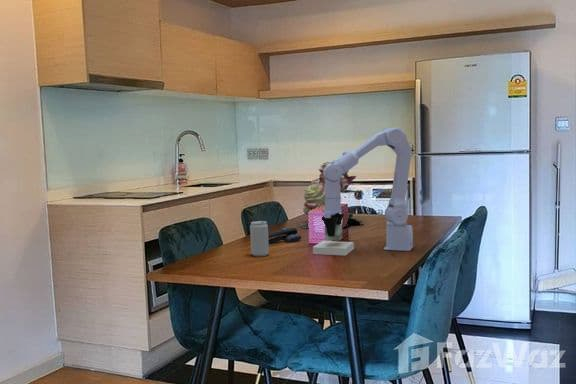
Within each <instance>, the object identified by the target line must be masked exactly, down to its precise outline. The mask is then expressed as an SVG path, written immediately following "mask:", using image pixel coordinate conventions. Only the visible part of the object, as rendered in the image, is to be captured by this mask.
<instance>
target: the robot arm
mask: <svg viewBox="0 0 576 384" xmlns="http://www.w3.org/2000/svg"><path fill="white" fill-rule="evenodd" d="M379 146H380V147H382V146H387V147H389V148H390V149H391V150H392V151H393V152H394V153H395V154H396V159H395V166H394V172H393V182H392V188H391V196H390V198H389V200H388V204H387V207H386V208H385V210H384V217H385V219H386V220H387V221H386V223H385V224H386V225H385V226H386V227H385V228H386V229H385V233H386V235H385V237H386V242H385V243H386V244H385V246H384V247H383V250H384V251H405V252H409V251H411V250H412V249H413V247H414V241H413V240H414V239H413V238H414V235H413V234H414V233H413V232H414V230H413V229H414V228H413V225H410V224H407V222H408V218H409V214H408V210H407V207H408V204H407V200H406V198H407V197H406V196H407V189H408V182H409V181H408V180H409V173H410V166H411V159H412V151H413V150H412V149H411V146H410V143H409V141H408V138H407V134H406V133H405V132H404V131H403V130H402V129H401V128H399V127H386V128H384V129H383V130H382V131H379V132H377V133H376V134H375V135H373V136H372V137H370V138H369V139H368V140H366V141H365V142H364V143H362V144H361V145H360V146H359V147H357V148H356V149H355V150H354V151H352V150H347V151H343V152H342V155H341V156H339V157H338V158H337V159H335V160H334V159H333V160H332V161H331V162H332V163H333V164H330V165H327V166H326V167H325V168H324V171H323V176H324V177H325V209H323V210H322V212H325V215H324V216H323V217H322V218H321V221H322V220H323V221H324V224H325V226H326V229H327V234H328V236H330V237H334V235H335V228H336V225H340V224H341V220H342V218H343V216H344V213H342V210H341V209H342V202H341V200H342V197H341V196H342V195H341V194H342V193H341V190H340V178H341V176H342V174H344V173H346V172H347V171H350V170H352V169H353V168H354V167H355V166H357V165H358V164H359V160H360V158H362V157H364V156H366V154H368V153H370V152H371V151H373V150H374V149H375V148H377V147H379Z"/></svg>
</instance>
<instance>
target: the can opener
mask: <svg viewBox="0 0 576 384" xmlns="http://www.w3.org/2000/svg"><path fill="white" fill-rule="evenodd" d="M301 240H302V236H301V235H300V234H298V229H297V228H296V227H289V228H284V227H283V228H282V229H280V230H275V231H273V232H270V233H269V232H268V242H269V245H272V244H275V243H278V242H281V241H285V242H288V243H290V242H291V243H296V242H298V241H301Z"/></svg>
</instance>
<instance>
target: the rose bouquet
mask: <svg viewBox="0 0 576 384" xmlns="http://www.w3.org/2000/svg"><path fill="white" fill-rule="evenodd" d="M330 164H333V163H332V161H326V162H323V163H322V164H320V165H319V167H320V168H319V169H318V172H319V173H320V174H319V177H318V178H315V179H312V180H311V182H310V183H309V184H308V186H307V188H306V189H304V191H305V192H304V195H303V197H304V199H305V202H304V204H303V207H304V208H303V209H302V210H303V213H304V214H305V215H307V216H308V212H309V211H310V210H312V209H315V208H317V207H320V206H322V205H325V177H324V176H323V171H324V168H325V167H326V166H327V165H330ZM349 171H350V170H349ZM349 171H347V172H346V173H344V174H342V176H341V178H340V190H341V194H349V193H354V194H355V193H356V194H358V191H356V190H351V189H348V188H349V186H350V185H351V183H352V182H353V181H354V180H356V178H357V175H351V176H349V174H348V173H349ZM354 214H355V212H351V213H348V214H347V215H348V222H349V223H348V225H349V224H350V223H351V224H352V225H363V226H364V225H365V224H364V223H363V221H362V220H359V219H358V218H353V217H354ZM308 223H309V222H304V223H300V228H301V227H306V228H307V229H308ZM349 227H351V225H349ZM349 227H348V228H349ZM306 228H305V229H306Z"/></svg>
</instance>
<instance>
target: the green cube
mask: <svg viewBox="0 0 576 384" xmlns="http://www.w3.org/2000/svg"><path fill="white" fill-rule="evenodd" d="M342 239H343V229H342V225H336V228H335V235H334V237H330V236H328V234H327V229H326V226H325V229H324V241H336V242H340V241H341V240H342Z"/></svg>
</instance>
